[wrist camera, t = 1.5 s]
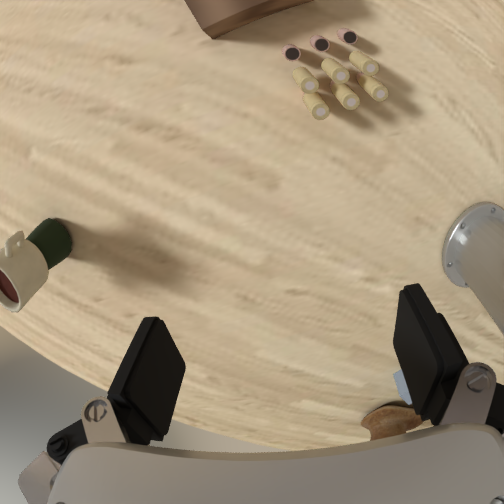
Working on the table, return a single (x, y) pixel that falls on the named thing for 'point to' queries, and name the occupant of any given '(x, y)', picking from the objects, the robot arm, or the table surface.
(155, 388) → the robot arm
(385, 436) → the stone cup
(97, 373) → the table surface
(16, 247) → the character mug
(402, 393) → the slate cube
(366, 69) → the ammunition
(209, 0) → the walnut block
